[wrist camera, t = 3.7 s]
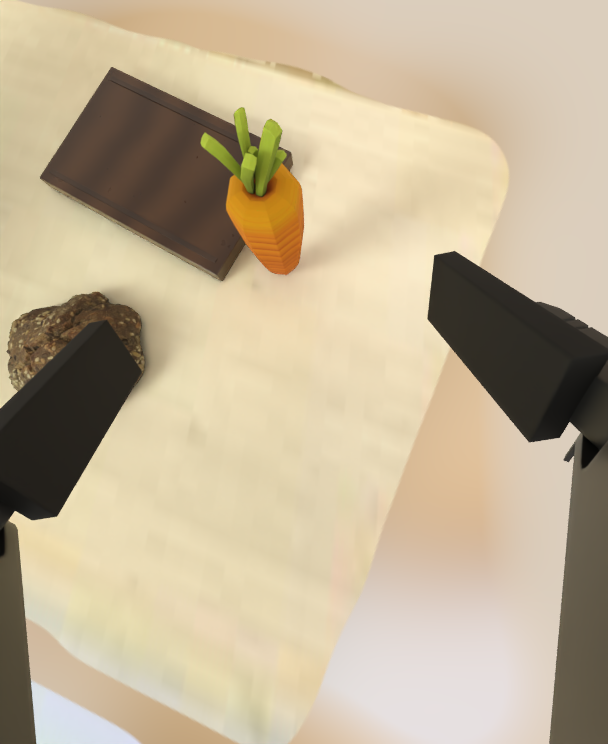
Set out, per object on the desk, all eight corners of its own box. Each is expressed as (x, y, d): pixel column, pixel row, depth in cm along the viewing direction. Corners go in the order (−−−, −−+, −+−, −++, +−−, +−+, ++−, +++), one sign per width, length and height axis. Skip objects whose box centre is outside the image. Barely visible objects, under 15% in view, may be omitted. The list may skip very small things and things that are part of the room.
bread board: (52, 188, 31) (38, 177, 30) (121, 81, 32) (110, 65, 30) (222, 281, 29) (216, 275, 27) (293, 164, 29) (291, 151, 28)
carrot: (251, 280, 28) (170, 150, 14) (276, 238, 29) (223, 64, 14) (295, 303, 28) (260, 194, 13) (320, 260, 28) (314, 103, 13)
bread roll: (47, 436, 28) (-12, 444, 24) (17, 322, 30) (-44, 307, 25) (166, 390, 28) (132, 388, 23) (130, 277, 29) (90, 252, 25)
